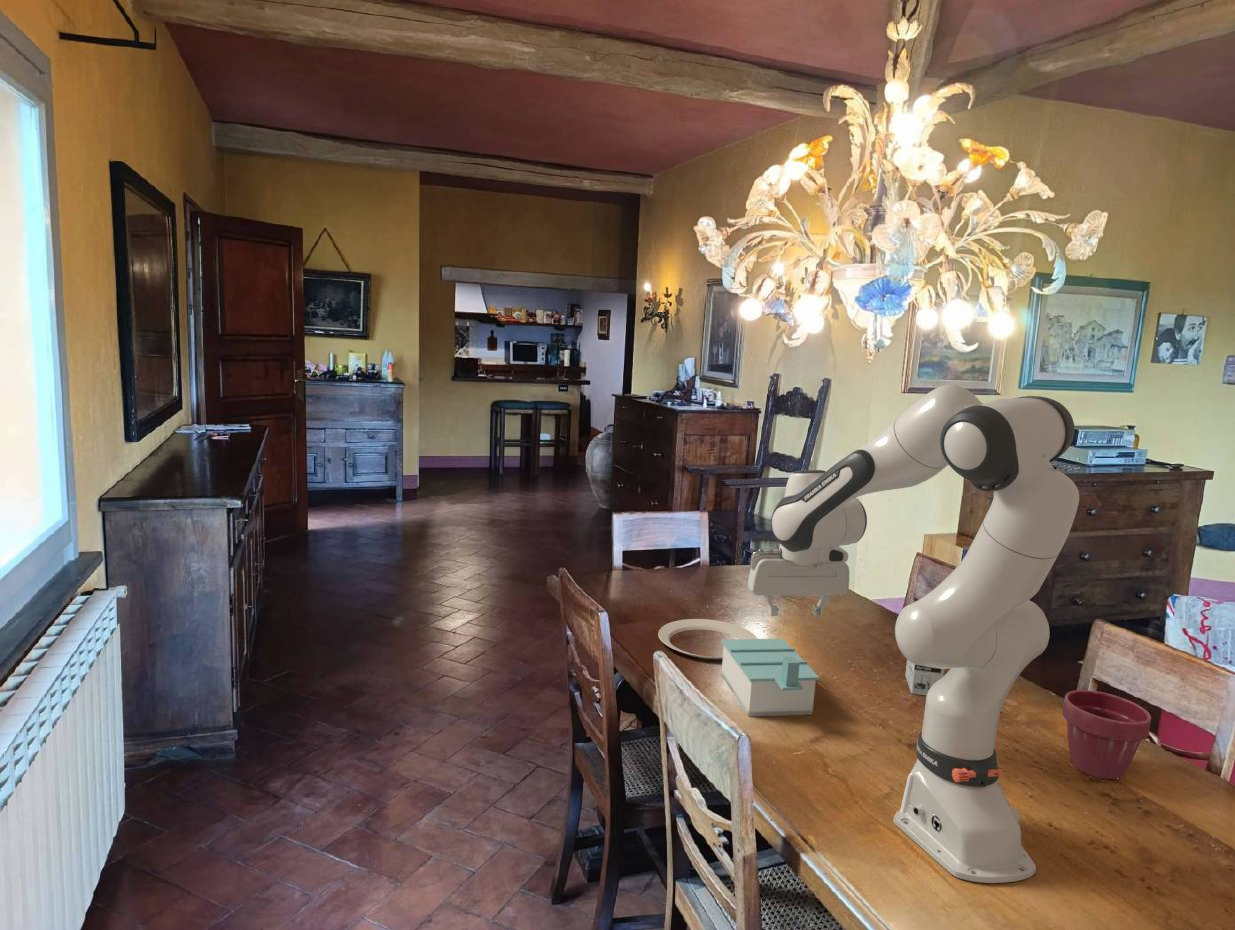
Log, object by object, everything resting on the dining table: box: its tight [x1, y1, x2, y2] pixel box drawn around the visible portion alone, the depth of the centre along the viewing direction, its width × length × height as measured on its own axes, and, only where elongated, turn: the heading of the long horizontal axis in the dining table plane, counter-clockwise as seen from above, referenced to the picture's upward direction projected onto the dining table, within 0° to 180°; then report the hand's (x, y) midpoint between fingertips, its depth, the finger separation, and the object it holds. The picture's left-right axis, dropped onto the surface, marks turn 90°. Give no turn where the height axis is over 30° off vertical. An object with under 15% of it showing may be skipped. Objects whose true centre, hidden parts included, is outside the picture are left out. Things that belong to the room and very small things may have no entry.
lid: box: [720, 638, 820, 691], centre depth 176 cm, size 25×15×7 cm, turn 9°
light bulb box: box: [904, 659, 945, 697], centre depth 188 cm, size 11×7×11 cm, turn 168°
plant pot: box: [1062, 689, 1152, 780], centre depth 155 cm, size 14×14×13 cm
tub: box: [720, 645, 817, 717], centre depth 180 cm, size 20×14×8 cm
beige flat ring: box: [657, 618, 758, 660], centre depth 207 cm, size 26×26×2 cm
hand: (795, 615), depth 164 cm, fingers open, 8 cm apart
